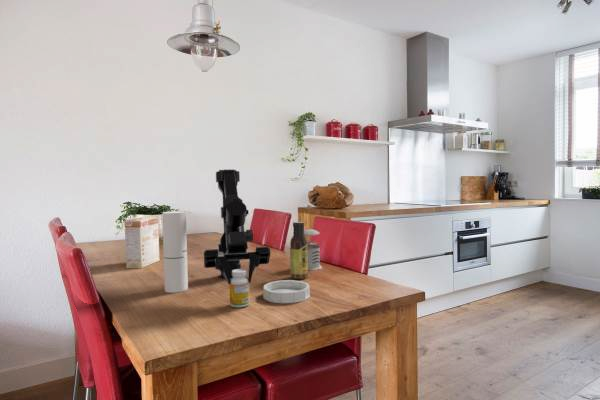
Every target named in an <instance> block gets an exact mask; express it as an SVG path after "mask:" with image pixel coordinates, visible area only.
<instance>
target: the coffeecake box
mask: <svg viewBox="0 0 600 400" xmlns="http://www.w3.org/2000/svg"><path fill="white" fill-rule="evenodd" d="M159 234H160V233H159V217H158V216H142V217H135V218H132V219H131V218H130V219H127V220H124V235H125V236H124V239H125V258H126V259H125V261H126V265H125V266H126V269H143V268H146V267H148V266H150V265H152V264H154V263H157V262H160V241H159V240H160V237H159Z"/></svg>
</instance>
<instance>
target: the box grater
mask: <svg viewBox="0 0 600 400" xmlns="http://www.w3.org/2000/svg"><path fill="white" fill-rule="evenodd" d="M306 207H307V209H308V212H309V213H308V215H309V218H308V221H309V222H308V223H309V227H308V229H304V236H305V239H306V241H307V240H308V239H307V237H309V241H307V244H308V271H318V269H319V270H322V269H323V266H322V265H321V263H320V262H321V261H320V258H321V257H320V255H321V254H320V246H318V245H319V244H320V243H319V242H317V241H311V236H319V235H320V234H321V233H320V232H319V231H318V230H315V229H312V228H311V212H310V211H311V209H312V205H311V204H308V205H307V206H306Z"/></svg>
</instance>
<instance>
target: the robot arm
mask: <svg viewBox="0 0 600 400" xmlns="http://www.w3.org/2000/svg"><path fill="white" fill-rule="evenodd" d="M215 182H216V183H217V188H218V190H219V192H221V194H222V206H220V219H222V220H223V234H222V236H221V237H220V238H219V243H218V244H217V245H218V246H217V248H215V249H212V248H211V249H205V250H204V252H203V267H204V268H206V269H209V268H210V269H211V268H215V270H219V271H220V274H219V275H218V278H224V279H225V280H226V282H227V284H228V285H230V279H231V278H233V276H232V270H235V269H242V266H241V263H240V261H242V260H243V261H244V260H245V261H246V260H249V261H248V277H247V278H248V279H249V284H250V283H251V282H252V278H253V274H254V272H255V269H256V268H257V267H259V266H260V265H268V264H269V263H270V260H271V259H270V257H271V254H272V253H271V248H270V247H269V246H267V245H266V246H256V247H255V251H247V250H248V248H249V247H248V243H249V242H250V243H252V242H253V241H254V232H253V229H245V223H246V218H247V216H248V215H249V210H248V209H247V205H246V204H245V203H244V202H243V201H244V200H243V199H241V197H239V194H238V185H239V184H238V183H239V182H240V171H239V170H236V169H219V170H218V171H216V172H215Z"/></svg>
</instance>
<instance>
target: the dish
mask: <svg viewBox="0 0 600 400" xmlns="http://www.w3.org/2000/svg"><path fill="white" fill-rule="evenodd" d="M262 296H263V299H264V300H265V301H268V302H270V303H273V304H297V303H301V302H305V301H306V300H309V299H310V298H311V286H310V283H307V282H305V281H302V280H296V279H285V280H283V279H282V280H274V281H270V282H268V283H265V284H264V285H263V295H262Z"/></svg>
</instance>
